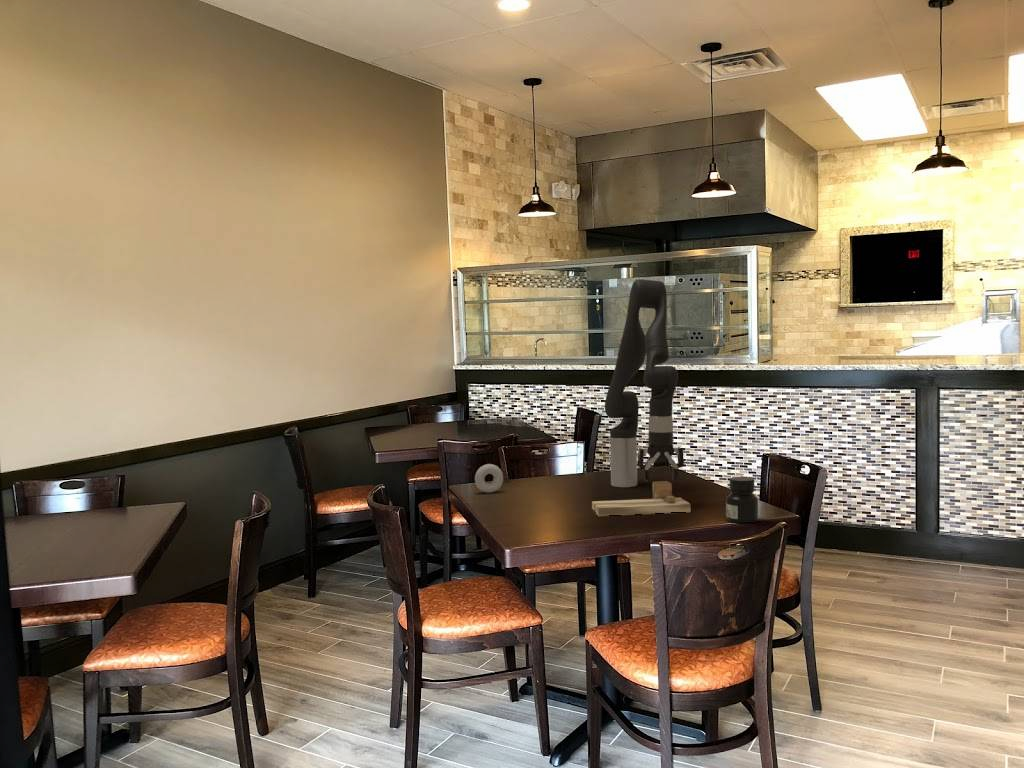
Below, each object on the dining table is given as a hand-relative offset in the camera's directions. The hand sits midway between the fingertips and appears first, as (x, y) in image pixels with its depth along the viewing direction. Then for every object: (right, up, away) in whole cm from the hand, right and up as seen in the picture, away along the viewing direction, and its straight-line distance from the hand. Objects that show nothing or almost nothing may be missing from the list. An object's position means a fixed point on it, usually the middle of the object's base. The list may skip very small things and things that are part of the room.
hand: (660, 481), depth 269 cm
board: (-7, -8, -8) cm, 14 cm away
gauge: (+1, -8, -4) cm, 9 cm away
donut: (-54, -7, +26) cm, 61 cm away
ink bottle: (+19, -9, -23) cm, 32 cm away
